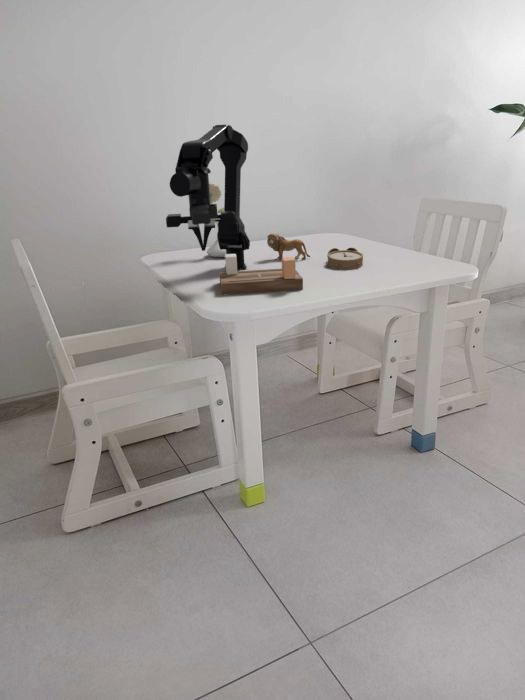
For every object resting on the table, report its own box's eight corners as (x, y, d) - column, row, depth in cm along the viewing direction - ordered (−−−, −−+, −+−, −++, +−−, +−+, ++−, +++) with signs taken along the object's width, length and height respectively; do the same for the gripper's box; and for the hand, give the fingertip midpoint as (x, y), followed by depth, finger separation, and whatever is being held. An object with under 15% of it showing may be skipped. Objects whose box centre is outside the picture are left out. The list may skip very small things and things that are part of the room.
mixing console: (220, 282, 148) (219, 272, 146) (294, 277, 150) (294, 267, 149) (222, 294, 136) (221, 283, 134) (302, 289, 138) (302, 278, 137)
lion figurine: (267, 261, 171) (267, 234, 168) (267, 258, 176) (266, 232, 173) (311, 260, 171) (311, 233, 168) (309, 256, 176) (309, 230, 173)
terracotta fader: (282, 275, 140) (281, 257, 138) (292, 274, 140) (292, 256, 138) (284, 279, 136) (284, 260, 134) (295, 278, 136) (295, 260, 135)
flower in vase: (241, 252, 186) (237, 181, 177) (235, 259, 176) (230, 184, 166) (206, 252, 188) (201, 182, 179) (198, 259, 178) (192, 185, 168)
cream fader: (226, 271, 147) (225, 254, 145) (236, 270, 147) (235, 253, 145) (226, 274, 143) (225, 257, 141) (237, 274, 143) (236, 256, 141)
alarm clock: (330, 261, 156) (324, 243, 169) (329, 276, 159) (324, 257, 171) (366, 260, 156) (358, 242, 169) (365, 274, 159) (357, 256, 171)
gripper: (162, 197, 127) (168, 258, 133) (235, 193, 129) (239, 254, 135) (164, 193, 137) (170, 250, 143) (232, 189, 139) (236, 246, 145)
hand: (203, 250), depth 142 cm, fingers closed
